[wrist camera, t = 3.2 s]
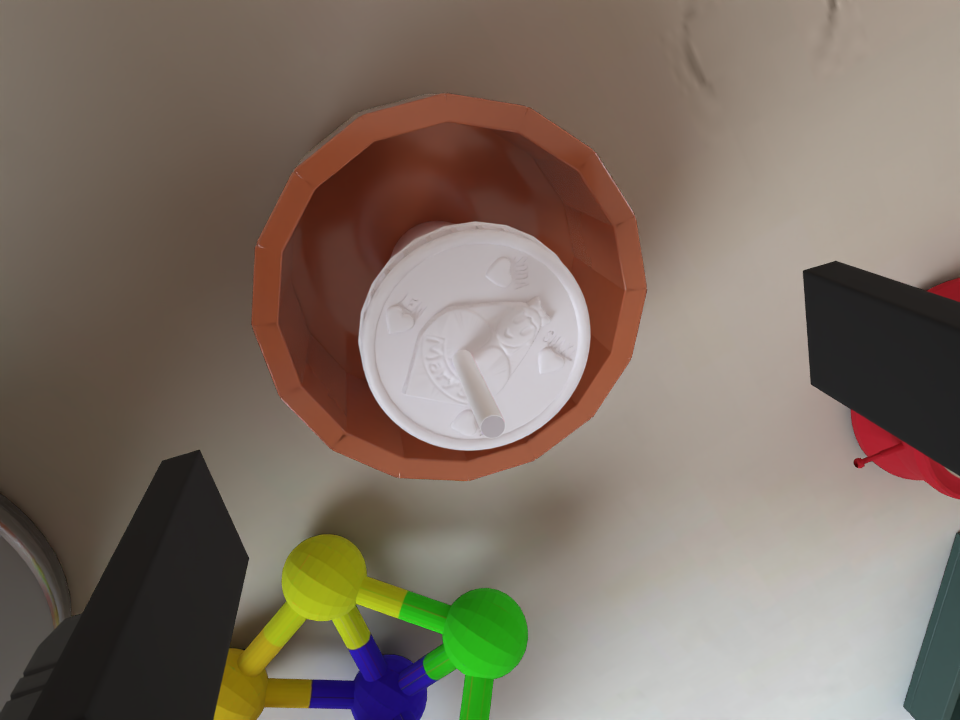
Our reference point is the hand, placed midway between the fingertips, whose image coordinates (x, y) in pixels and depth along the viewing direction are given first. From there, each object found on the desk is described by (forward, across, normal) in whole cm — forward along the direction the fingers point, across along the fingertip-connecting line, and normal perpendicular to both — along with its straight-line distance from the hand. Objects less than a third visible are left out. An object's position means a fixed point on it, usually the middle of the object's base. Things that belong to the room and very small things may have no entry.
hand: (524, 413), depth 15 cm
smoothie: (+14, 0, 0) cm, 14 cm away
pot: (+14, 0, 0) cm, 14 cm away
